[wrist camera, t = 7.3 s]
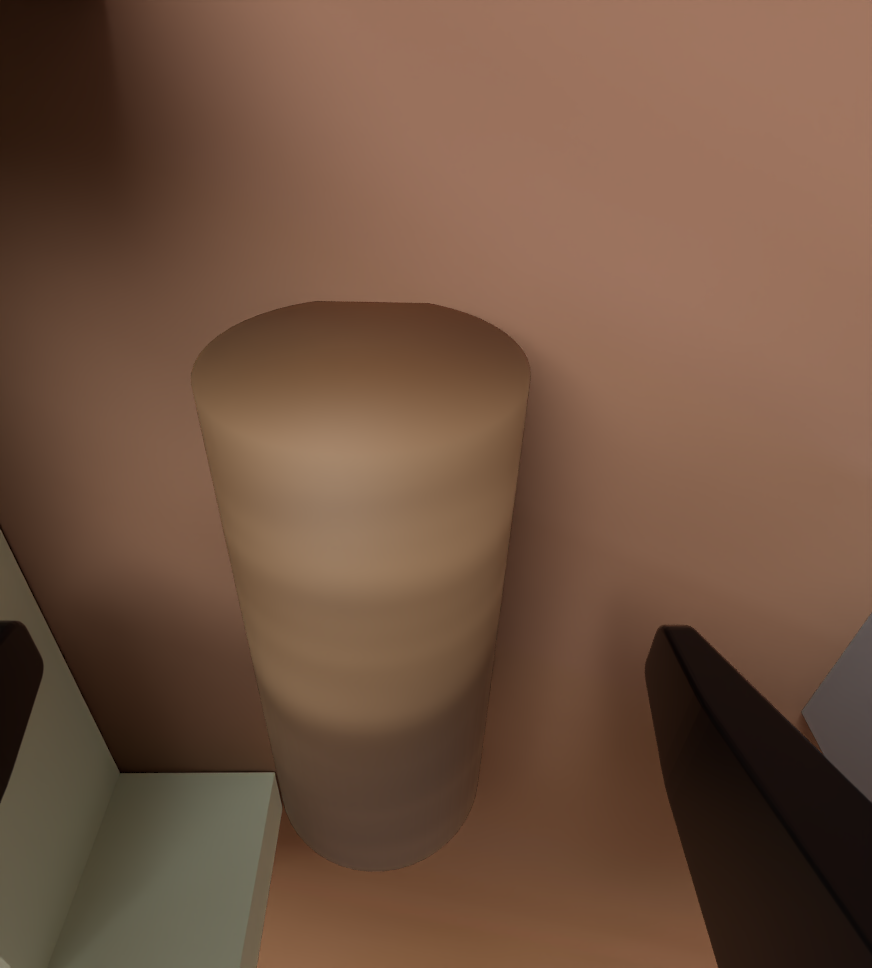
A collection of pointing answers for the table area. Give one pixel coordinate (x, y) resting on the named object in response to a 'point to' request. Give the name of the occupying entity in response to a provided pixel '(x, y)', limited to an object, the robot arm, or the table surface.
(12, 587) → the board
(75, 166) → the table surface
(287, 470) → the roller
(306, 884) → the table surface
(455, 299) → the table surface
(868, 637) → the slab
